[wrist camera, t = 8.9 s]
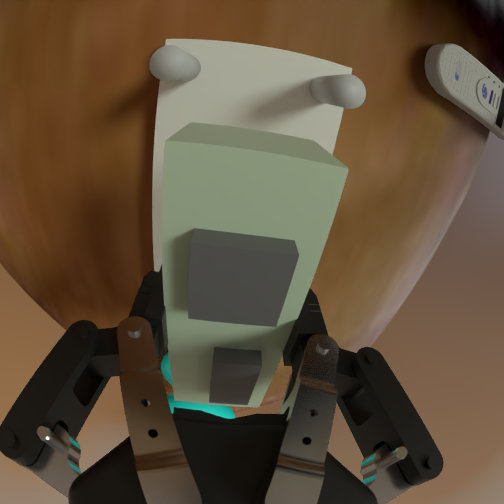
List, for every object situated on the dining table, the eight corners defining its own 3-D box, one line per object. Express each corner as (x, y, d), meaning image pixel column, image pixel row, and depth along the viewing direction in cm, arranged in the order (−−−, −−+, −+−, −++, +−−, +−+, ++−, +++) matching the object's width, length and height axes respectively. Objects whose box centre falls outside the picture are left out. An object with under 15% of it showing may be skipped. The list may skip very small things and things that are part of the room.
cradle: (171, 42, 15) (142, 25, 10) (345, 69, 17) (384, 66, 11) (160, 295, 28) (146, 343, 23) (281, 308, 30) (288, 357, 24)
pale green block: (190, 122, 10) (156, 147, 6) (314, 140, 10) (359, 178, 6) (182, 348, 17) (173, 411, 13) (255, 355, 18) (259, 418, 14)
